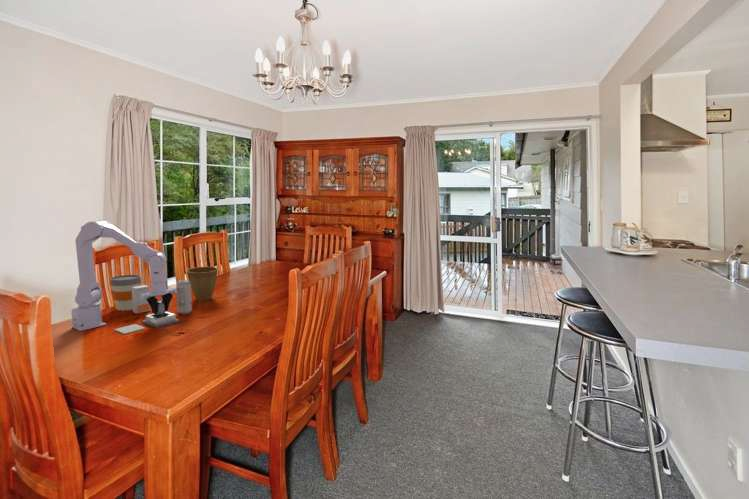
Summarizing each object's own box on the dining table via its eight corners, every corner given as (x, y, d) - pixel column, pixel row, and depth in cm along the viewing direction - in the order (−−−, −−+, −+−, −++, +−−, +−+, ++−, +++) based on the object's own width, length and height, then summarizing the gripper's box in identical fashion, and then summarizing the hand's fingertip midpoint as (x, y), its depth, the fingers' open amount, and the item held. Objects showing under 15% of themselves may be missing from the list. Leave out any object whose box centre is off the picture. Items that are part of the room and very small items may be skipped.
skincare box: (136, 313, 177) (134, 288, 175) (132, 312, 179) (131, 287, 178) (150, 310, 182) (149, 286, 180) (146, 309, 184) (145, 284, 182)
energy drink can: (194, 311, 182) (193, 280, 180) (182, 315, 176) (181, 283, 174) (187, 309, 185) (185, 279, 183) (175, 312, 179) (173, 281, 177)
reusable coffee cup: (118, 313, 177) (115, 281, 175) (107, 308, 184) (105, 277, 182) (147, 307, 187) (145, 277, 185) (136, 302, 194) (134, 273, 192)
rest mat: (124, 334, 151) (124, 333, 151) (114, 330, 155) (114, 329, 155) (145, 328, 158) (145, 327, 158) (135, 324, 162) (135, 323, 162)
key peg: (158, 321, 163) (157, 303, 162) (153, 320, 165) (152, 302, 164) (167, 319, 167) (166, 301, 166) (162, 317, 169) (161, 300, 168)
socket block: (156, 328, 159) (156, 320, 158) (141, 322, 165) (141, 315, 165) (179, 321, 167) (179, 314, 167) (164, 316, 174) (164, 309, 173)
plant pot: (188, 296, 207) (187, 267, 205) (218, 294, 214) (217, 266, 211) (187, 303, 194) (186, 272, 192) (219, 301, 200) (218, 271, 198)
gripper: (145, 285, 155) (147, 318, 157) (180, 279, 168) (181, 309, 169) (136, 283, 159) (139, 315, 161) (171, 277, 171) (172, 307, 173)
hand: (160, 312), depth 166 cm, fingers closed on key peg, 4 cm apart
